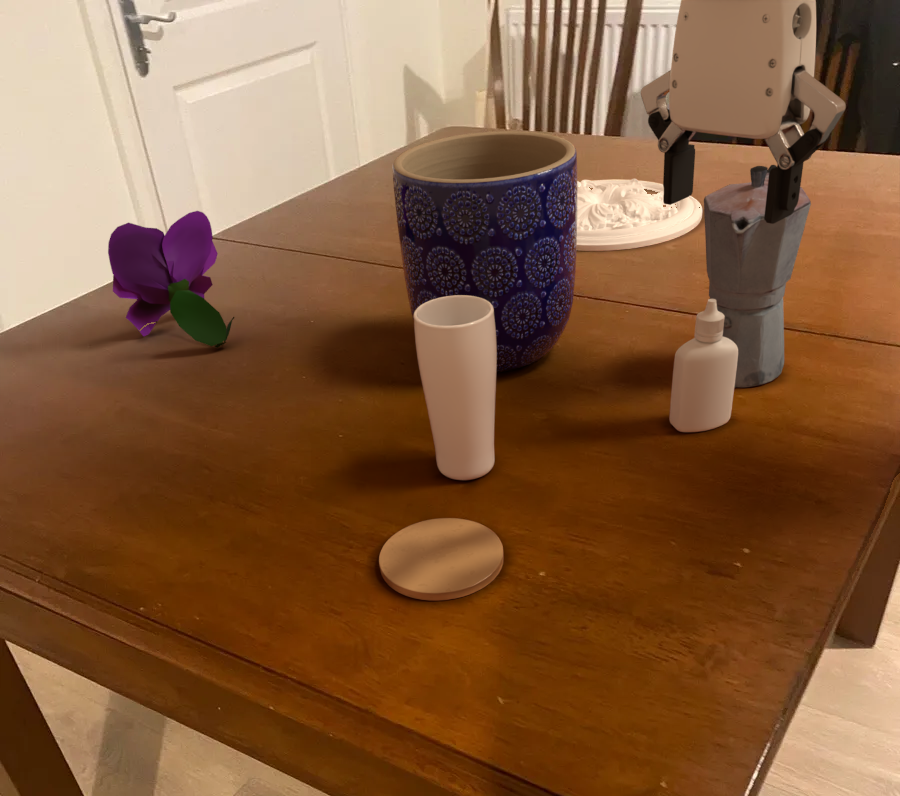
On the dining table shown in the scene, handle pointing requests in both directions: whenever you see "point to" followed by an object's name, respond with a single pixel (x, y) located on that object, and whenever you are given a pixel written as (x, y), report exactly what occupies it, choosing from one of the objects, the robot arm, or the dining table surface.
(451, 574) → the cork trivet
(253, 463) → the dining table surface
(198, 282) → the flower
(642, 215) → the ceiling medallion
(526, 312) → the planter
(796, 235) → the moka pot
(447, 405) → the drinking glass
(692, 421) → the eye dropper bottle
